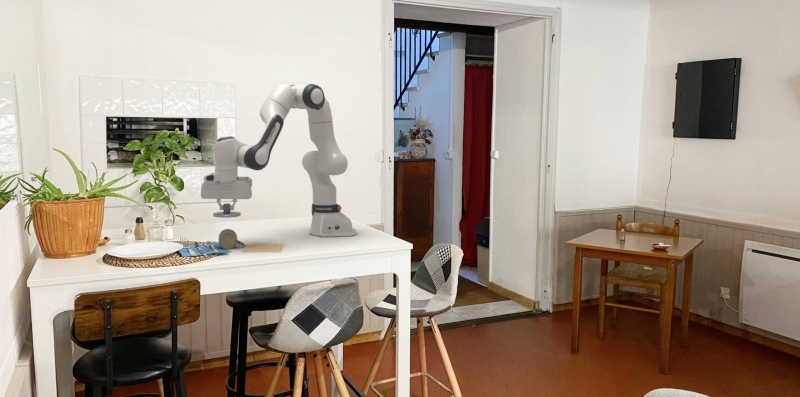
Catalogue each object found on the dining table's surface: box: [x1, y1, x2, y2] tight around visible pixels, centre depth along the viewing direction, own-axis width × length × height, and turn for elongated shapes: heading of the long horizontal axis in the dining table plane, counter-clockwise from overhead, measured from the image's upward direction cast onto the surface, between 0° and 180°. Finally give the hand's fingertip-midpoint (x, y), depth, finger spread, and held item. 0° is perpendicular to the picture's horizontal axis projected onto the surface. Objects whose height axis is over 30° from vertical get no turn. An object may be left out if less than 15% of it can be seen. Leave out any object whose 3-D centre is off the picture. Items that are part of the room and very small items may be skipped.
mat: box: [240, 243, 286, 253], centre depth 255 cm, size 16×16×1 cm
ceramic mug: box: [218, 228, 246, 250], centre depth 255 cm, size 11×8×8 cm
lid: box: [212, 202, 242, 219], centre depth 253 cm, size 11×11×5 cm
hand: (226, 209), depth 253 cm, fingers closed on lid, 3 cm apart
